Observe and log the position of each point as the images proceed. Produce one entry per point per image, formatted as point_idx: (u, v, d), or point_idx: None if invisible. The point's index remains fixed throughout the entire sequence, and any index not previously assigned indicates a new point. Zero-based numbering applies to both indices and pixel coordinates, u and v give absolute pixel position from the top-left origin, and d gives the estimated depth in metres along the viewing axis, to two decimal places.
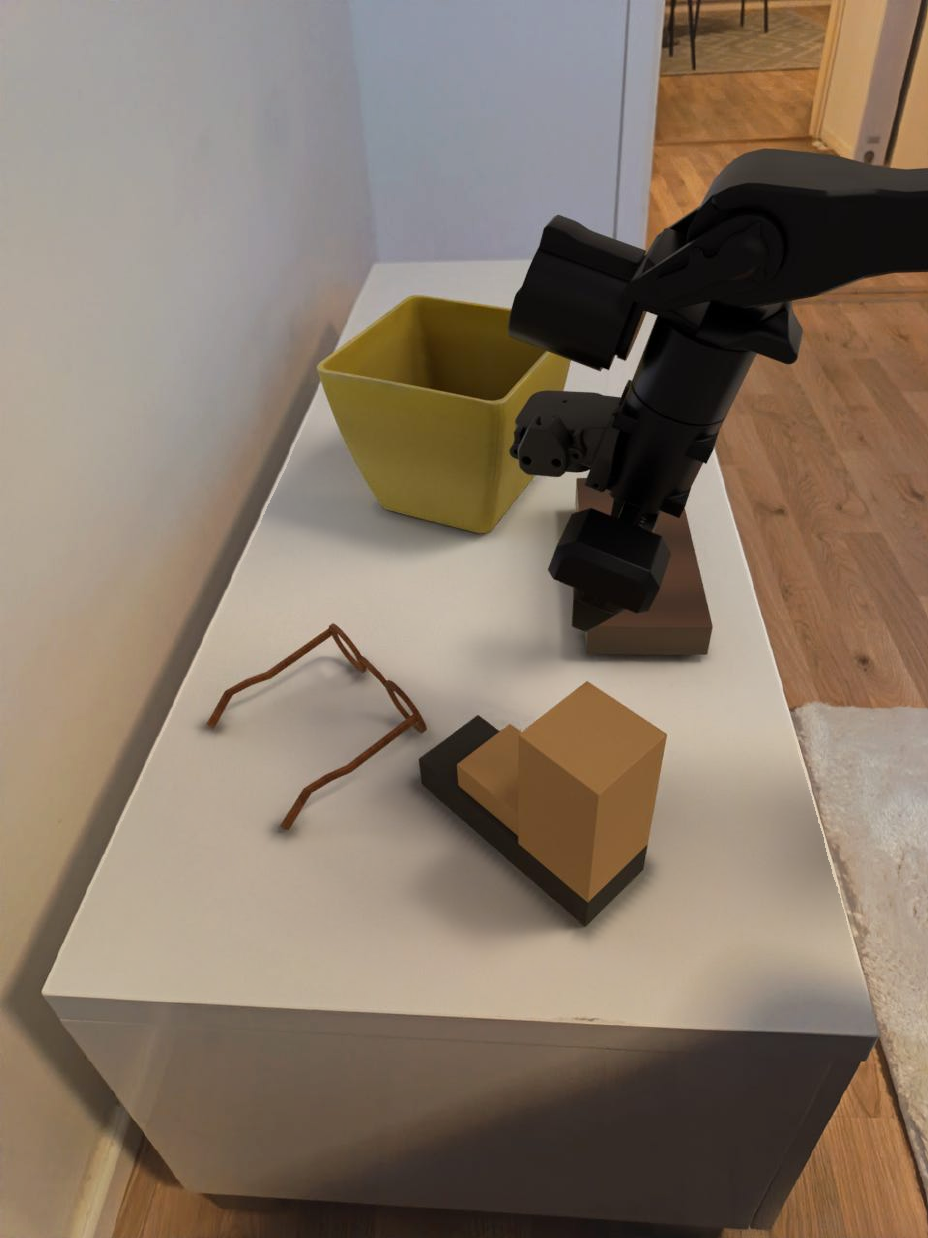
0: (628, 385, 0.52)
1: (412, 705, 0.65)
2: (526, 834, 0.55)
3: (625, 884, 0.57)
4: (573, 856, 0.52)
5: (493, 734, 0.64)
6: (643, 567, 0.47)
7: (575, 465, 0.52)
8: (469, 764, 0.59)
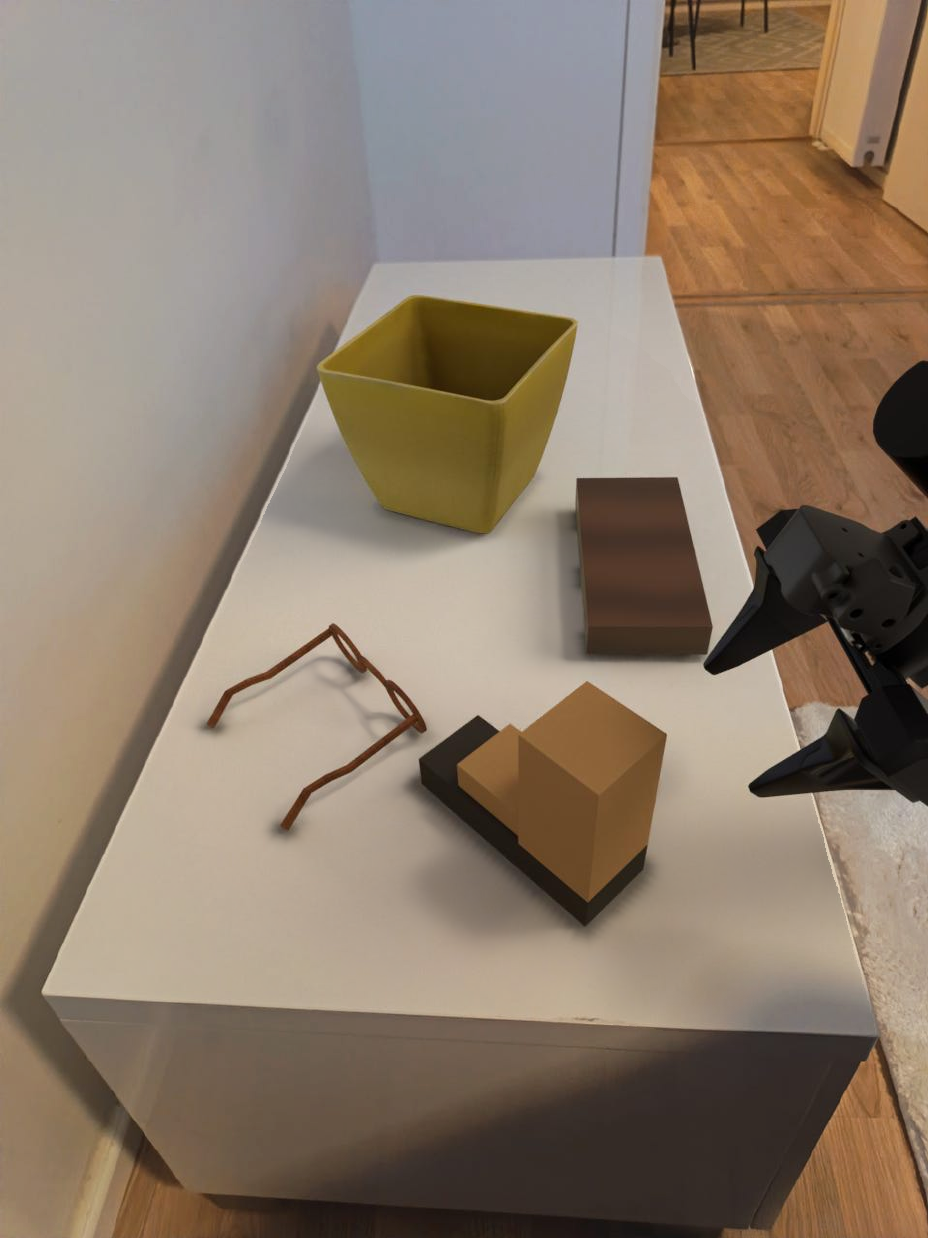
0: (917, 530, 0.43)
1: (412, 705, 0.65)
2: (526, 834, 0.55)
3: (625, 884, 0.57)
4: (573, 856, 0.52)
5: (493, 734, 0.64)
6: None
7: None
8: (469, 764, 0.59)
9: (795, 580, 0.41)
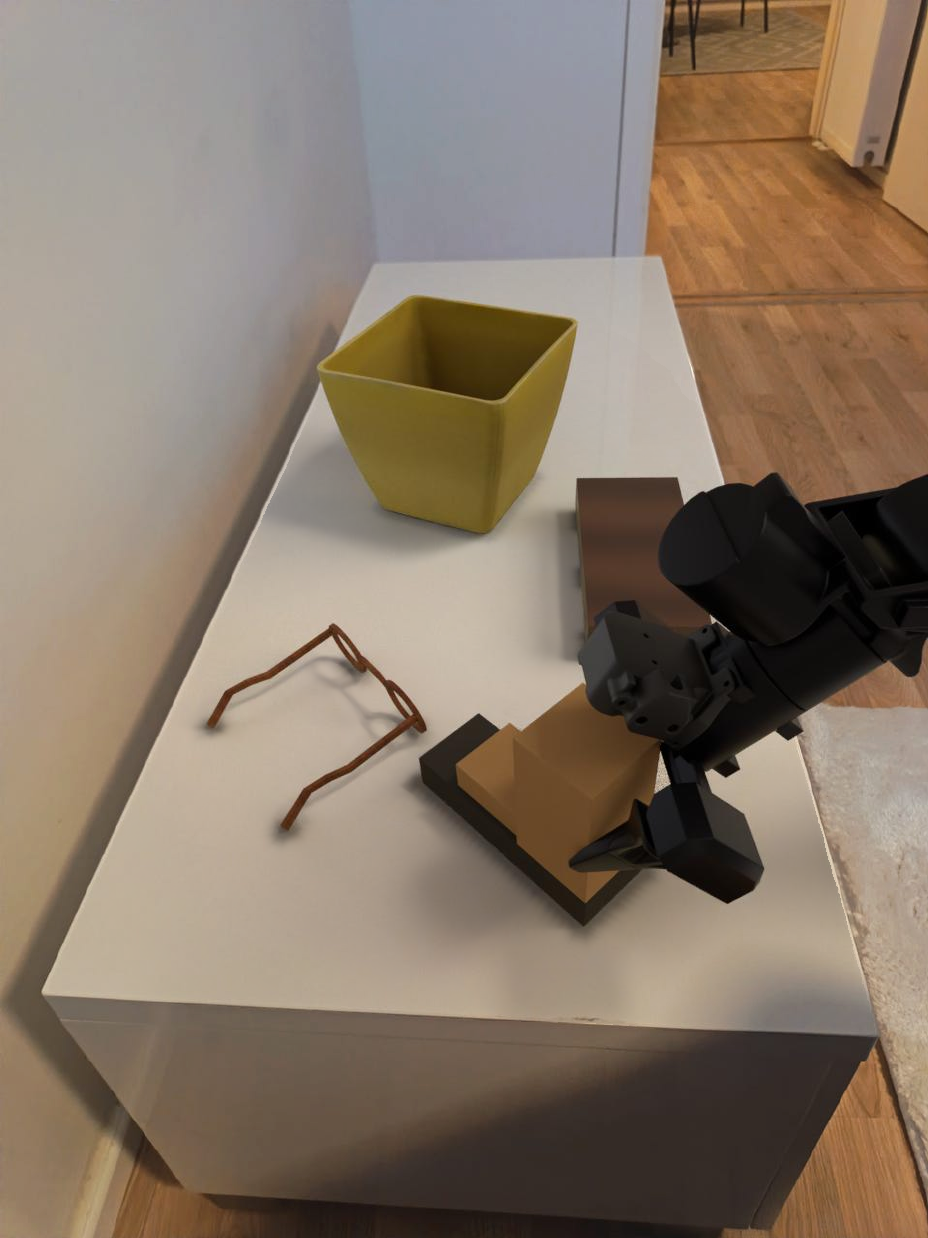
0: (715, 635, 0.47)
1: (412, 705, 0.65)
2: (524, 835, 0.55)
3: (624, 884, 0.57)
4: (569, 858, 0.52)
5: (493, 732, 0.64)
6: (759, 865, 0.43)
7: None
8: (468, 764, 0.59)
9: (595, 684, 0.45)
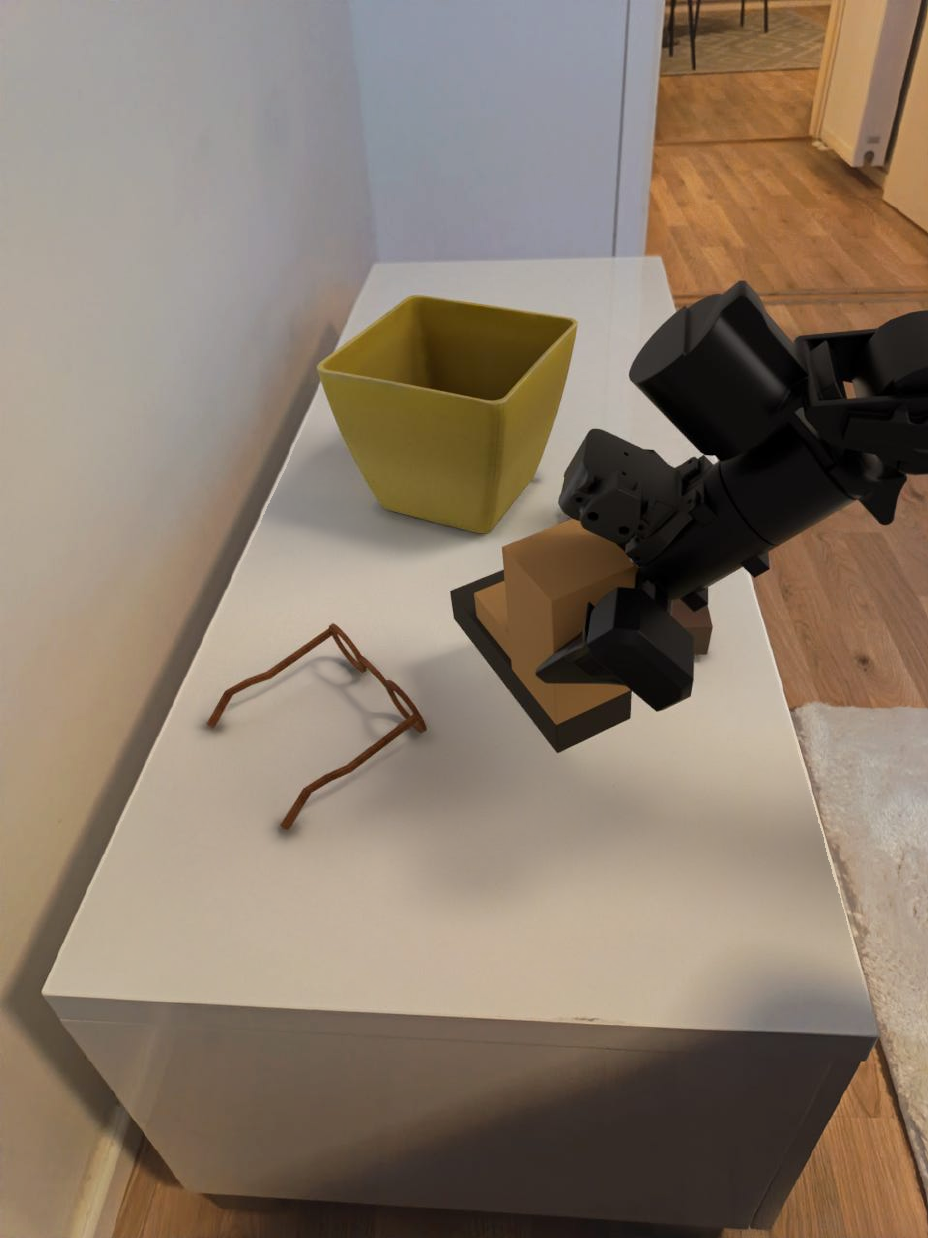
0: (697, 465, 0.49)
1: (412, 705, 0.65)
2: (515, 657, 0.59)
3: (606, 726, 0.60)
4: None
5: None
6: (688, 674, 0.45)
7: None
8: (485, 594, 0.64)
9: (566, 487, 0.48)
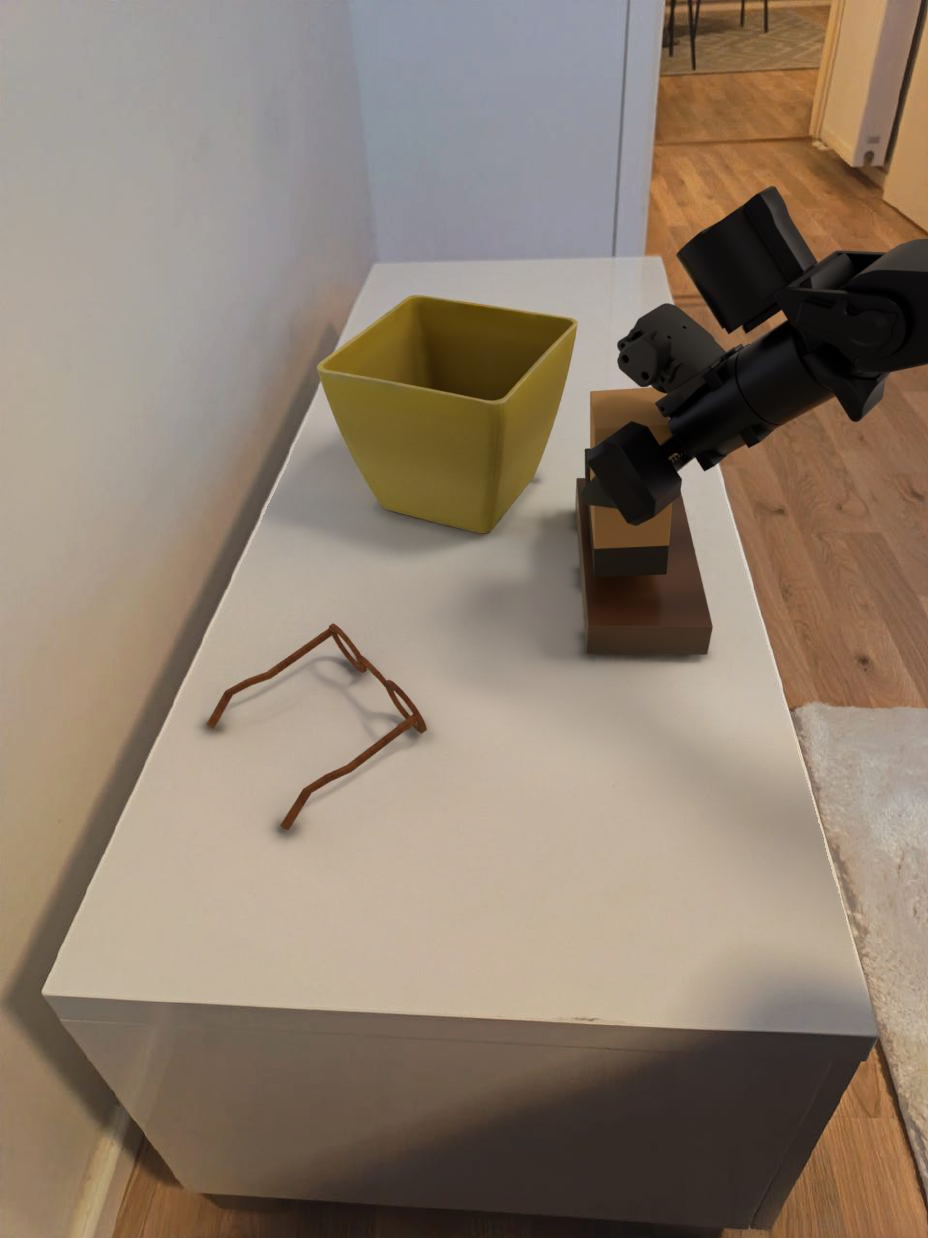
0: (737, 348, 0.59)
1: (412, 705, 0.65)
2: None
3: (642, 571, 0.72)
4: None
5: None
6: (652, 495, 0.58)
7: (658, 384, 0.60)
8: None
9: None
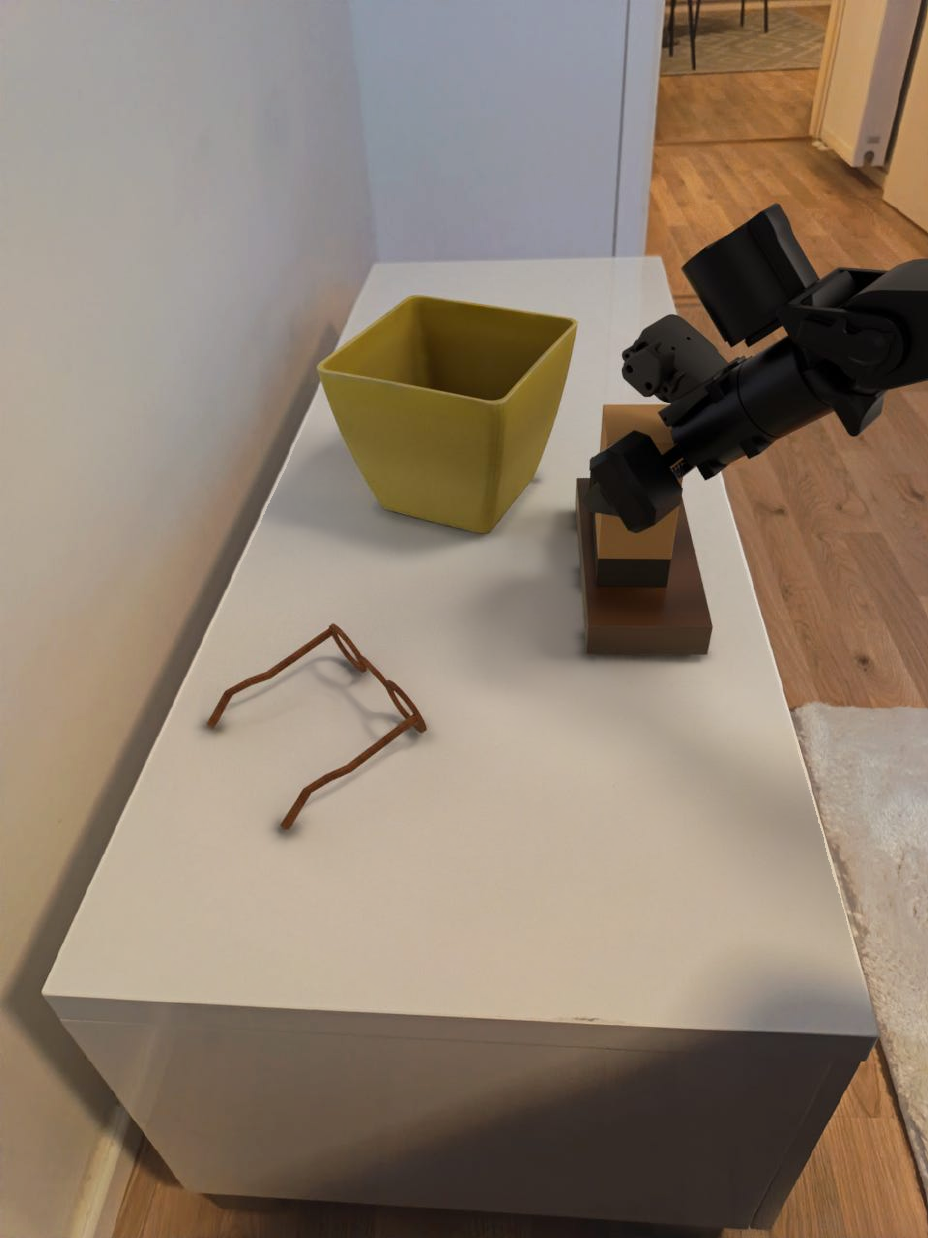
0: (740, 360, 0.60)
1: (412, 705, 0.65)
2: None
3: (643, 582, 0.74)
4: None
5: None
6: (653, 504, 0.59)
7: None
8: None
9: None
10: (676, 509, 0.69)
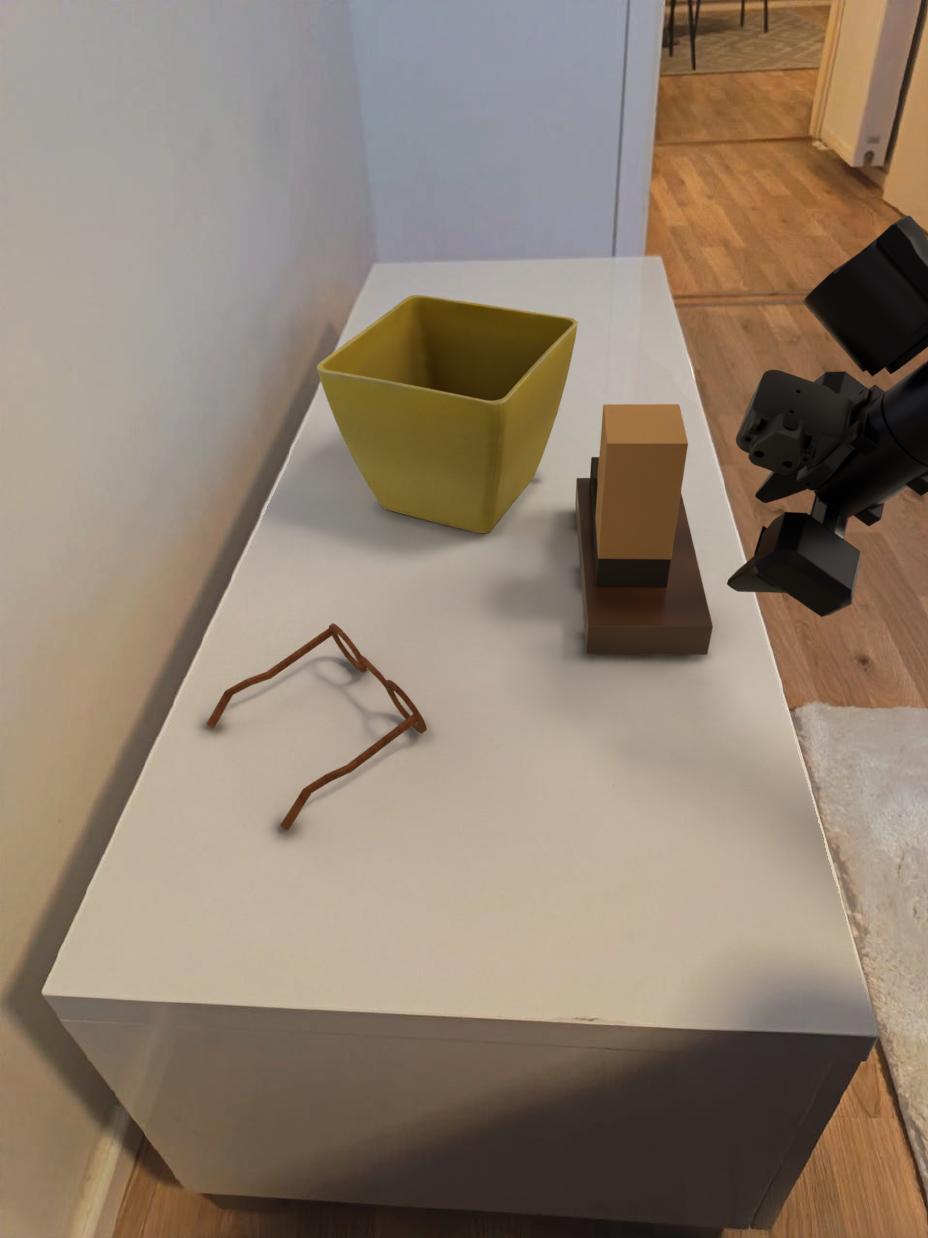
0: (866, 395, 0.54)
1: (412, 705, 0.65)
2: (596, 504, 0.75)
3: (643, 582, 0.74)
4: None
5: None
6: (846, 586, 0.53)
7: None
8: None
9: (741, 426, 0.56)
10: (676, 509, 0.69)
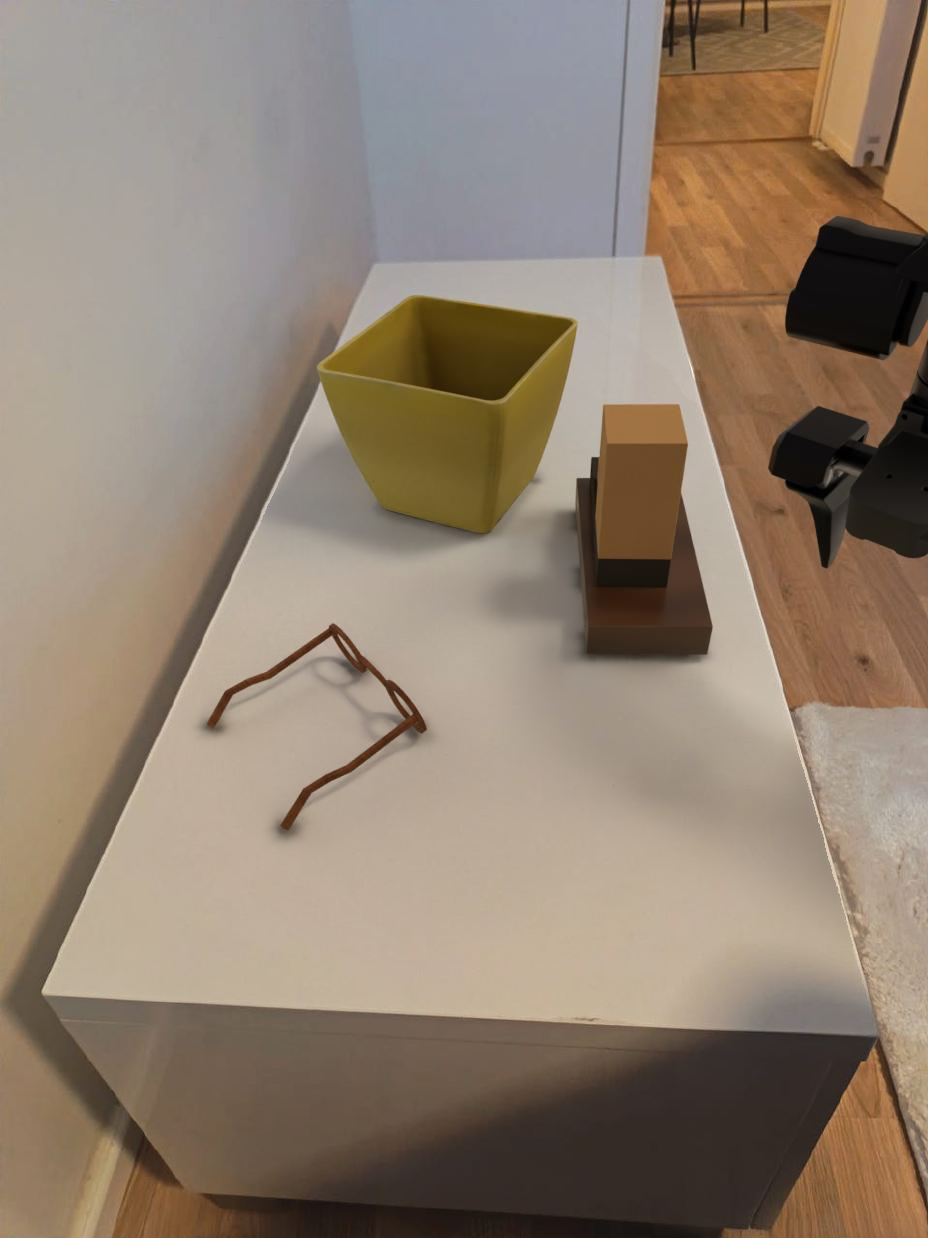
0: (918, 413, 0.48)
1: (412, 705, 0.65)
2: (596, 504, 0.75)
3: (643, 582, 0.74)
4: None
5: None
6: None
7: None
8: None
9: (906, 546, 0.48)
10: (676, 509, 0.69)
